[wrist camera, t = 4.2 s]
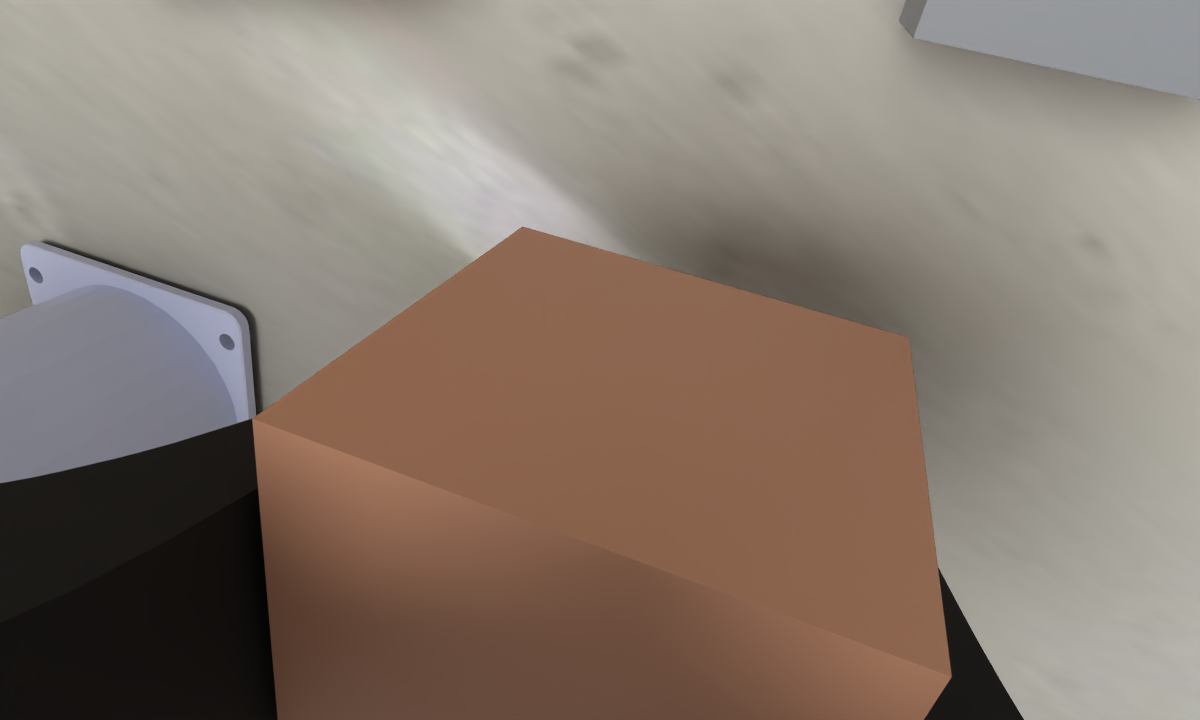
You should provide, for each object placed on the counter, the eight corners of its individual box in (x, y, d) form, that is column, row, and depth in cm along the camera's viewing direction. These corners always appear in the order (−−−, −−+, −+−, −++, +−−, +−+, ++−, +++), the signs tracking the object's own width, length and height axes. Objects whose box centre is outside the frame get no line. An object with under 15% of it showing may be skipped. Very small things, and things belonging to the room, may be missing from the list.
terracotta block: (783, 620, 11) (734, 1009, 7) (487, 510, 12) (284, 794, 8) (908, 338, 9) (951, 677, 4) (523, 226, 10) (251, 418, 5)
